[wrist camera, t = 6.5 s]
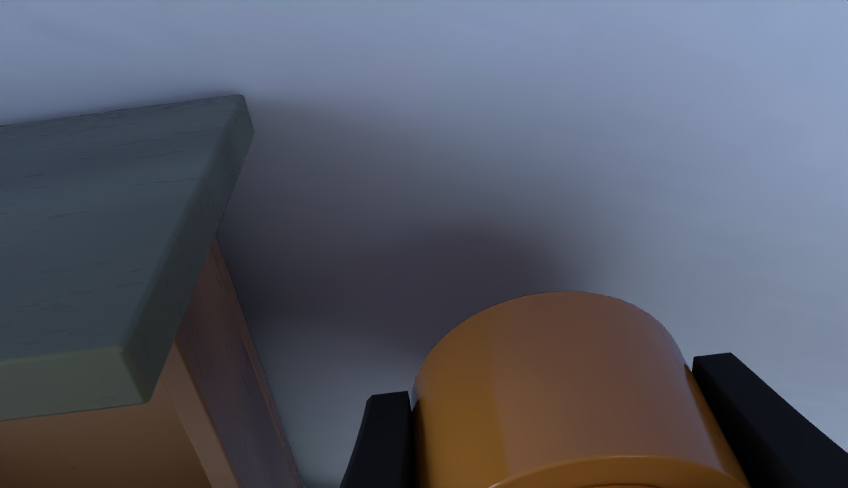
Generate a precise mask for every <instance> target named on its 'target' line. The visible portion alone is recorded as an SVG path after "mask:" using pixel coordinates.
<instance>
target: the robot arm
mask: <svg viewBox="0 0 848 488" xmlns="http://www.w3.org/2000/svg"><path fill="white" fill-rule="evenodd" d="M692 374H693V376H694V378H695V380H696V381H697V383H698V385H699V387H700V389H701V391H702V393H703V395H704V397H705V399H706V400H707V402H708V404H709V406H710V408H711V410H712V412H713V414H714V416H715V418H716V419H717V421H718V423H719V425H720V427H721V429H722V431H723V433H724V435H725V437H726V438H727V440H728V442H729V444H730V446H731V448H732V450H733V452H734V454H735V456H736V457H737V459H738V461H739V463H740V465H741V467H742V469H743V471H744V473H745V475H746V476H747V478H748V480H749V482H750V484H751V486H752V488H848V453H847V452H845V451H844V450H843V449H842V448H841V447H839V446H838V445H837V444H836V443H835V442H833V441H832V440H831V439H830V438H829V437H827V436H826V435H825V434H824V433H822V432H821V431H820V430H819V429H818V428H816V427H815V426H814V425H813V424H812V423H811V422H809V421H808V420H807V419H806V418H805V417H804V416H802V415H801V414H800V413H799V412H798V411H797V410H796V409H794V408H793V407H792V406H791V405H790V404H789V403H788V402H786V401H785V400H784V399H783V398H782V397H781V396H780V395H778V394H777V393H776V392H775V391H774V390H773V389H772V388H771V387H769V386H768V385H767V384H766V383H765V382H764V381H763V380H762V379H760V378H759V377H758V376H757V375H756V374H755V373H754V372H753V371H751V370H750V369H749V368H748V367H747V366H746V365H745V364H744V363H742V362H741V361H740V360H739V359H738V358H737V357H736V356H734V355H733V354H732V353H731V352H730V353H722V354H713V355H705V356H696V357H694V360H693V367H692ZM340 488H414V455H413V430H412V411H411V405H410V400H409V395H408V391H402V392H393V393H385V394H377V395H372V396H371V397H370V398H369V399H368V400H367V402H366V407H365V411H364V416H363V419H362V423H361V427H360V430H359V434H358V437H357V440H356V443H355V447H354V449H353V452H352V455H351V458H350V461H349V464H348V467H347V470H346V472H345V475H344V478H343V480H342V483H341V485H340Z"/></svg>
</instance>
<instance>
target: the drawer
mask: <svg viewBox="0 0 848 488" xmlns="http://www.w3.org/2000/svg"><path fill="white" fill-rule="evenodd" d="M253 136H254V129H253V126H252V122H251V118H250V115H249V111H248V108H247V104H246V101H245V98H244V96H243V95H241V94H238V95H231V96H223V97H216V98H208V99H201V100H193V101H186V102H178V103H171V104H163V105H156V106H148V107H141V108H133V109H126V110H118V111H111V112H103V113H96V114H88V115H81V116H73V117H66V118H58V119H51V120H43V121H36V122H28V123H21V124H13V125H6V126H0V488H304V486H303V483H302V480H301V477H300V474H299V472H298V469H297V466H296V463H295V460H294V457H293V455H292V452H291V449H290V446H289V443H288V440H287V437H286V435H285V432H284V429H283V426H282V423H281V420H280V418H279V415H278V412H277V409H276V406H275V403H274V400H273V398H272V395H271V392H270V389H269V386H268V383H267V381H266V378H265V375H264V372H263V369H262V366H261V363H260V361H259V358H258V355H257V352H256V349H255V346H254V344H253V341H252V338H251V335H250V332H249V329H248V326H247V324H246V321H245V318H244V315H243V312H242V309H241V307H240V304H239V301H238V298H237V295H236V292H235V289H234V287H233V284H232V281H231V278H230V275H229V272H228V270H227V267H226V264H225V261H224V258H223V255H222V252H221V250H220V247H219V244H218V241H217V238H216V235H215V234H216V231H217V229H218V226H219V224H220V221H221V218H222V216H223V213H224V211H225V208H226V206H227V203H228V200H229V198H230V195H231V193H232V190H233V188H234V185H235V183H236V180H237V177H238V175H239V172H240V170H241V167H242V165H243V162H244V159H245V157H246V154H247V152H248V149H249V147H250V144H251V142H252V139H253Z"/></svg>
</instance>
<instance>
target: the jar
mask: <svg viewBox="0 0 848 488" xmlns="http://www.w3.org/2000/svg"><path fill="white" fill-rule="evenodd" d="M411 411H412V430H413V455H414V488H752V486H751V484H750V482H749V480H748V478H747V476H746V475H745V473H744V471H743V469H742V467H741V465H740V463H739V461H738V459H737V457H736V456H735V454H734V452H733V450H732V448H731V446H730V444H729V442H728V440H727V438H726V437H725V435H724V433H723V431H722V429H721V427H720V425H719V423H718V421H717V419H716V418H715V416H714V414H713V412H712V410H711V408H710V406H709V404H708V402H707V400H706V399H705V397H704V395H703V393H702V391H701V389H700V387H699V385H698V383H697V381H696V380H695V378H694V376H693V374H692V372H691V370H690V368H689V366H688V364H687V363H686V361H685V359H684V357H683V355H682V353H681V351H680V349H679V347H678V345H677V344H676V342H675V340H674V339H673V337H672V335H671V334H670V333H669V332H668V331H667V329H666V328H665V327H664V326H663V325H662V324H661V323H660V322H659V321H658V320H656V319H655V318H654V317H653V316H651V315H650V314H649V313H647V312H645V311H643V310H642V309H640V308H638V307H637V306H635V305H633V304H630V303H628V302H625V301H623V300H620V299H617V298H614V297H610V296H606V295H602V294H596V293H589V292H582V291H555V292H542V293H537V294H531V295H525V296H521V297H518V298H514V299H510V300H507V301H504V302H501V303H499V304H496V305H494V306H491V307H489V308H486V309H484V310H482V311H480V312H478V313H477V314H475V315H473V316H471V317H469V318H468V319H466V320H465V321H463V322H462V323H460V324H459V325H457V326H456V327H454V328H453V329H452V330H451V331H450V332H449V333H447V334H446V335H445V336H444V337H443V338H442V339H441V340H440V341H439V342H438V343H437V344H436V345H435V346H434V347H433V349H432V350H431V351H430V352H429V354H428V355H427V357H426V358H425V360H424V361H423V363H422V365H421V367H420V369H419V371H418V373H417V375H416V377H415V381H414V384H413V388H412V394H411Z"/></svg>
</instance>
